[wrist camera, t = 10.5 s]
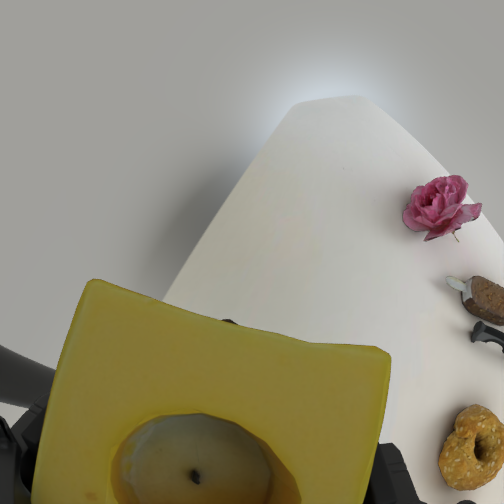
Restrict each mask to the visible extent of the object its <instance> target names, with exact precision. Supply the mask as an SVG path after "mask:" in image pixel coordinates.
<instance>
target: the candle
mask: <svg viewBox="0 0 504 504" xmlns="http://www.w3.org/2000/svg"><path fill="white" fill-rule="evenodd" d="M390 372H391V356H390V355H389V353H387V352H385V351H383V350H381V349H380V348H378V347H376V346H365V345H351V344H327V343H309V342H305V341H302V340H298V339H295V338H291V337H288V336H285V335H281V334H278V333H273V332H268V331H263V330H258V329H253V328H248V327H244V326H240V325H238V324H236V323H235V322H233V321H232V320H230V319H223V320H217V319H214V318H210V317H206V316H203V315H199V314H196V313H193V312H190V311H187V310H184V309H181V308H178V307H175V306H172V305H169V304H166V303H164V302H161V301H158V300H156V299H153V298H151V297H148V296H145V295H142V294H139V293H136V292H133V291H130V290H128V289H125V288H122V287H119V286H117V285H114V284H111V283H108V282H106V281H104V280H101V279H92V280H90V281H88V282H87V284H86V286H85V288H84V291H83V293H82V296H81V298H80V300H79V303H78V305H77V308H76V311H75V314H74V317H73V320H72V323H71V326H70V329H69V331H68V334H67V337H66V340H65V343H64V346H63V349H62V352H61V355H60V358H59V361H58V365H57V369H56V372H55V376H54V380H53V385H52V389H51V392H50V396H49V400H48V405H47V409H46V413H45V418H44V423H43V428H42V432H41V437H40V442H39V448H38V453H37V459H36V465H35V472H34V478H33V485H32V492H31V504H363V501H364V497H365V494H366V491H367V487H368V483H369V479H370V475H371V470H372V466H373V461H374V457H375V452H376V448H377V444H378V440H379V436H380V432H381V428H382V423H383V419H384V413H385V408H386V402H387V395H388V389H389V381H390Z"/></svg>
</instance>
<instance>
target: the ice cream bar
mask: <svg viewBox="0 0 504 504" xmlns="http://www.w3.org/2000/svg"><path fill="white" fill-rule="evenodd" d="M446 281H447V284H449V285H450V286H451V287H452V288H453V289H456V290H460V291H462V301H463V305H464V307H465V308H466V309H467V310H468V311H469V312H470V313H471V314H473V315H475V316H478V317H480V318H482V319H484V320H487V321H489V322H491V323H493V324H496V325H499V326H504V288H503V287H501V286H499V285H498V284H495V283H493V282H491V281H489V280H487V279H486V278H483V277H481V276H473V277H472V278H471V279H469V280H468V281H467V282H466V283H463V282H462V281H460V280H459V279H457V278H455V277H452V276H447V278H446Z"/></svg>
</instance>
